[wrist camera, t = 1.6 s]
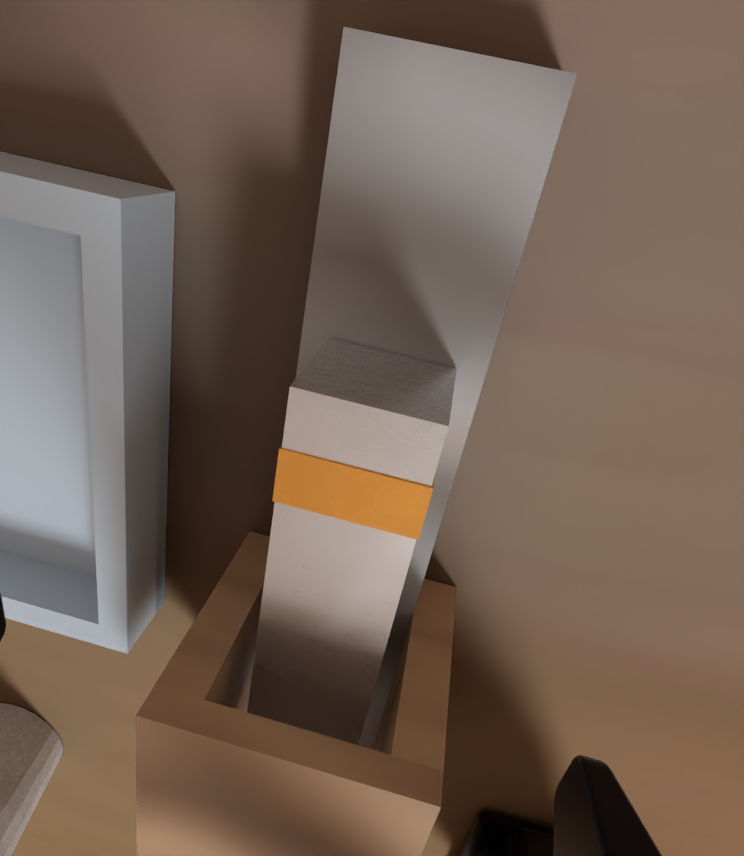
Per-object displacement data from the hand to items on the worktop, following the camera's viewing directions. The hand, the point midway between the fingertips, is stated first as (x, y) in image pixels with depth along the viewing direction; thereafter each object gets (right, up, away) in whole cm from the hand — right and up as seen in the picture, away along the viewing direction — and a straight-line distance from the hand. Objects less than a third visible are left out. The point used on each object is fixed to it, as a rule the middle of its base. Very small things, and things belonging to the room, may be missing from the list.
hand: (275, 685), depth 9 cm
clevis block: (+1, +3, +12) cm, 13 cm away
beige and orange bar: (+1, +1, +11) cm, 11 cm away
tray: (-12, +5, +14) cm, 19 cm away
